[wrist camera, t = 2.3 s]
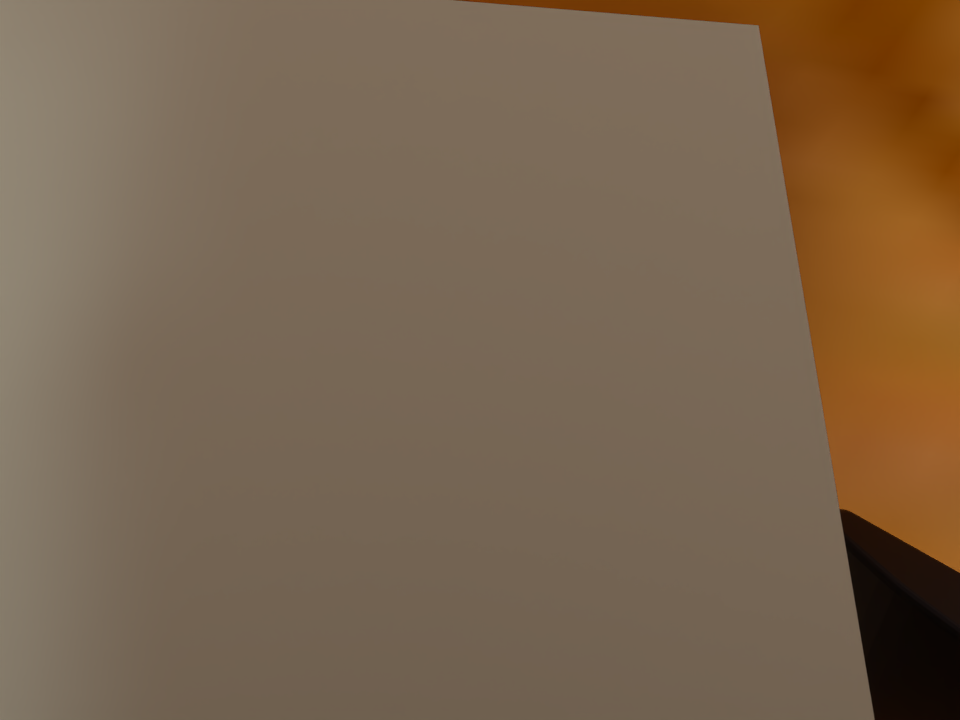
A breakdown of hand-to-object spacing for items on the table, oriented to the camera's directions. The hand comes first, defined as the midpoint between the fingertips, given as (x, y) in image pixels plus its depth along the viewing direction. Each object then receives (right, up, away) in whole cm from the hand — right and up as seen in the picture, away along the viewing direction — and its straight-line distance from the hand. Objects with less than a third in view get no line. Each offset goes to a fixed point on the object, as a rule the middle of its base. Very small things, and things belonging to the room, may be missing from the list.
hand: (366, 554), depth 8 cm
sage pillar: (-1, -2, +8) cm, 8 cm away
